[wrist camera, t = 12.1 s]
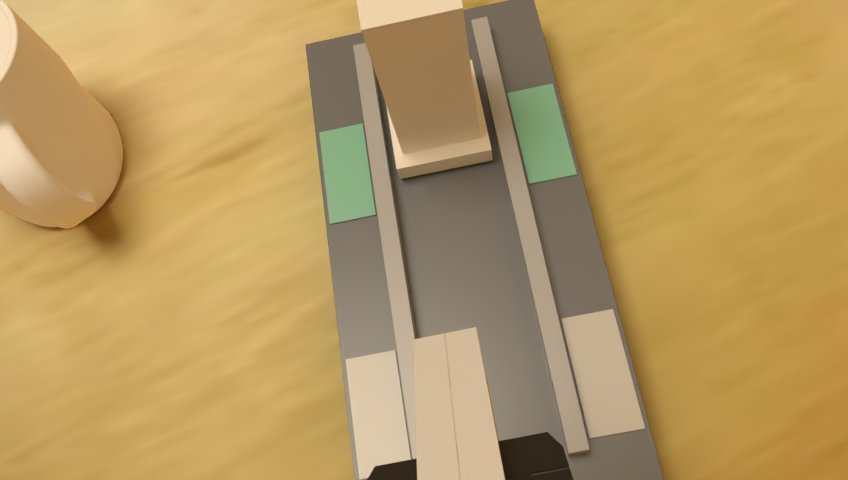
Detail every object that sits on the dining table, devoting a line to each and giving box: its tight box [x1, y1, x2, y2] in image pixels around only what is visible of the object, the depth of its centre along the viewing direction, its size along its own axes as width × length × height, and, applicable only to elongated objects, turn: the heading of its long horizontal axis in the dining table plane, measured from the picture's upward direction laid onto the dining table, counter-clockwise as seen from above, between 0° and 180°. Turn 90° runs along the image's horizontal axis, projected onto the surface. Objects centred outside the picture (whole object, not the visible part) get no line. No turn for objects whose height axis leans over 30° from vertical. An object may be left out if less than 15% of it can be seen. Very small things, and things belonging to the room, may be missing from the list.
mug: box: [0, 0, 123, 229], centre depth 37 cm, size 12×9×8 cm
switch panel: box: [306, 0, 664, 480], centre depth 34 cm, size 12×24×4 cm, turn 9°
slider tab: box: [357, 0, 493, 179], centre depth 31 cm, size 4×5×10 cm
